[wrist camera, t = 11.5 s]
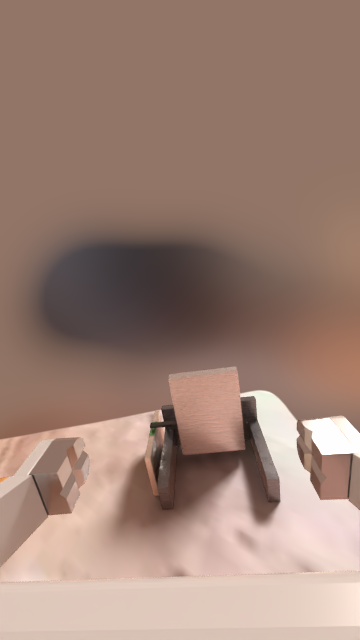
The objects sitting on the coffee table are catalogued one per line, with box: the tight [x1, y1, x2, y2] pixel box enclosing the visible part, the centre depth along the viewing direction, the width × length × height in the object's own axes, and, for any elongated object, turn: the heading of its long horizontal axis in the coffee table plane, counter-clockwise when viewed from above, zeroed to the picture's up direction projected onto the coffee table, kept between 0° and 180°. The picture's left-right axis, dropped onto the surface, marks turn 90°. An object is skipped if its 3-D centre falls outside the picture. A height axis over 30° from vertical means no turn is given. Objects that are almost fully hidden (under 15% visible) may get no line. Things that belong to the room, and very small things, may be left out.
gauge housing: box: [145, 396, 280, 509], centre depth 38 cm, size 18×12×8 cm
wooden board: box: [150, 367, 245, 455], centre depth 38 cm, size 14×2×14 cm, turn 88°
